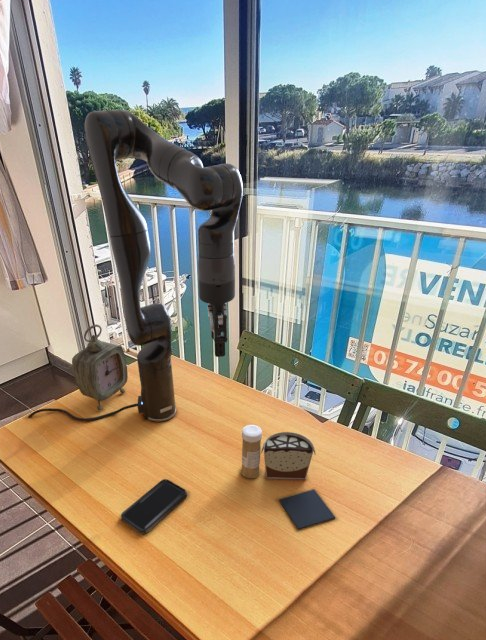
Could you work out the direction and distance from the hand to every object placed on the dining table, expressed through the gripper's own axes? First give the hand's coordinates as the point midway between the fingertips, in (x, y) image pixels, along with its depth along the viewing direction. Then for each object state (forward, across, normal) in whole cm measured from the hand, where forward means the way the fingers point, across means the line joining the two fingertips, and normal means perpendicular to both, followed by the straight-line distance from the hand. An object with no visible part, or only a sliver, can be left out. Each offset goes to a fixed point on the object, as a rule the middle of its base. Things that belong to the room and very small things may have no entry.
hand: (218, 346), depth 102 cm
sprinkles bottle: (+30, +10, +6) cm, 33 cm away
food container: (+30, +10, +15) cm, 35 cm away
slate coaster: (+30, +23, +17) cm, 41 cm away
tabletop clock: (+30, -28, -33) cm, 53 cm away
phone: (+30, +19, -17) cm, 39 cm away
